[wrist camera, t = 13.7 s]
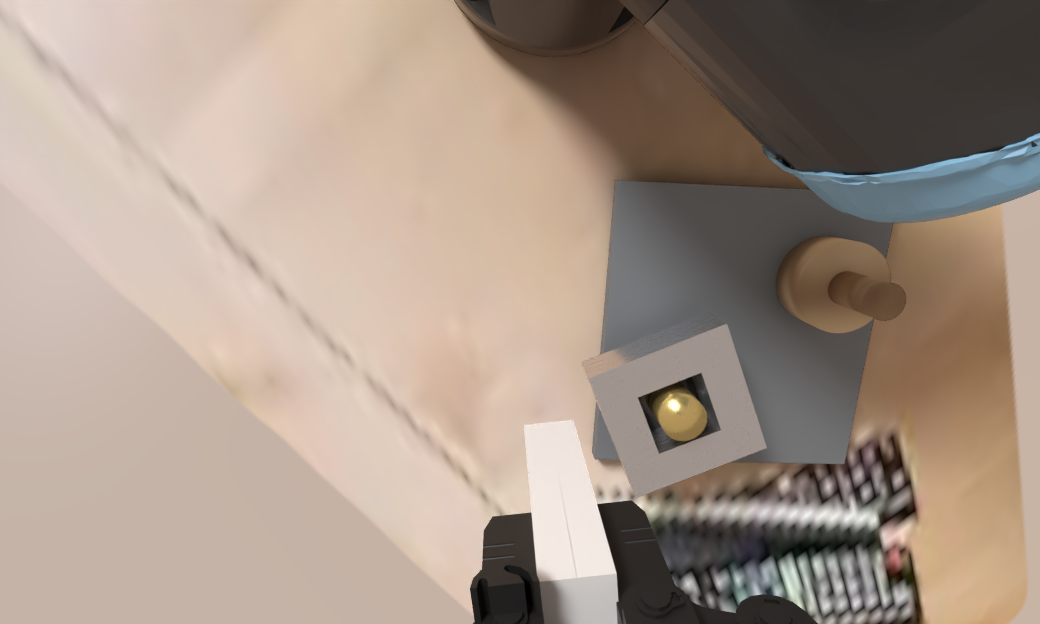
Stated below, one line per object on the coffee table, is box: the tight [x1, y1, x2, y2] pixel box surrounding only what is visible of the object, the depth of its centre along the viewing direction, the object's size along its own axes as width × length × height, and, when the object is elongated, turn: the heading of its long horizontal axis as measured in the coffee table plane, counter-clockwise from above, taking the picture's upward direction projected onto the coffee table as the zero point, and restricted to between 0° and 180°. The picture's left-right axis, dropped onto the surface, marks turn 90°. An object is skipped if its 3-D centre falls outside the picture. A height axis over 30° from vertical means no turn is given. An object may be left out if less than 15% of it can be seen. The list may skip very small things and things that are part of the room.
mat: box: [592, 180, 893, 464], centre depth 40 cm, size 20×19×1 cm
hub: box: [638, 377, 707, 441], centre depth 37 cm, size 7×7×6 cm
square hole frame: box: [581, 312, 767, 498], centre depth 37 cm, size 9×9×3 cm
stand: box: [776, 236, 906, 333], centre depth 36 cm, size 6×6×7 cm
